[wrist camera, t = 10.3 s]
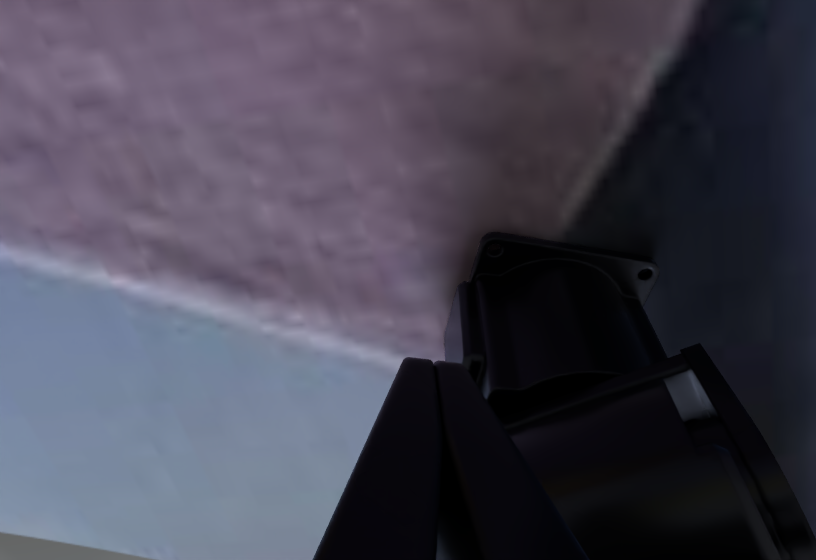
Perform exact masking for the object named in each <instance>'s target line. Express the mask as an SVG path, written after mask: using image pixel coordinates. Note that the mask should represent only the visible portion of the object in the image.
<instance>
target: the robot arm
mask: <svg viewBox="0 0 816 560" xmlns="http://www.w3.org/2000/svg"><path fill="white" fill-rule="evenodd" d="M492 244H498V245H500V247H499V248H498V249H497V250H490V249H488V248H489V246H490V245H492ZM643 269H648V271H647V272H646V273H643V274H638V273H639V272H640V271H641V270H643ZM659 273H660V272H659V268H658V266H657V264H656V263H655V261H654V260H653V259H652V258H649V257H645V256H639V255H633V254H626V253H620V252H614V251H608V250H602V249H596V248H590V247H584V246H578V245H572V244H566V243H560V242H554V241H548V240H542V239H536V238H530V237H524V236H518V235H512V234H506V233H500V232H491V233H488V234H486V235H485V236H484V237H482V239H481V241H480V244H479V247H478V251H477V254H476V257H475V261H474V264H473V268H472V271H471V275H470V278H469V282H467V281H464V282H463V283H461V284H460V285H458V287H457V290H456V294H455V297H454V301H453V305H452V308H451V312H450V315H449V319H448V323H447V326H446V330H445V334H444V342H445V361H436V362H435V363H434V364H433V362H432V361H431V360H429V359H420V358H411V357H407V358H405V359H404V360H403V362H402V364H401V366H400V368H399V370H398V373H397V375H396V377H395V379H394V381H393V384H392V386H391V388H390V390H389V392H388V395H387V397H386V399H385V401H384V403H383V406H382V408H381V410H380V412H379V414H378V417H377V419H376V421H375V423H374V425H373V428H372V430H371V432H370V434H369V436H368V439H367V441H366V443H365V445H364V448H363V450H362V452H361V454H360V456H359V459H358V461H357V463H356V465H355V467H354V470H353V472H352V474H351V476H350V478H349V481H348V483H347V485H346V487H345V489H344V492H343V494H342V496H341V498H340V500H339V503H338V505H337V507H336V509H335V511H334V514H333V516H332V518H331V520H330V522H329V525H328V527H327V529H326V531H325V533H324V536H323V538H322V540H321V542H320V545H319V547H318V549H317V551H316V553H315V556H314V558H313V560H816V539H815V536H814V534H813V532H812V530H811V528H810V526H809V523H808V521H807V519H806V517H805V515H804V513H803V511H802V509H801V507H800V505H799V503H798V501H797V499H796V497H795V495H794V493H793V491H792V489H791V487H790V485H789V483H788V481H787V480H786V478H785V476H784V474H783V472H782V470H781V468H780V466H779V465H778V463H777V461H776V459H775V457H774V455H773V454H772V452H771V450H770V448H769V447H768V445H767V443H766V442H765V440H764V438H763V436H762V435H761V433H760V431H759V430H758V428H757V427H756V425H755V424H754V422H753V420H752V419H751V417H750V416H749V414H748V413H747V412H746V410H745V409H744V407H743V406H742V404H741V403H740V401H739V400H738V398H737V397H736V395H735V394H734V392H733V391H732V390H731V388H730V387H729V385H728V384H727V382H726V381H725V379H724V378H723V376H722V375H721V373H720V372H719V370H718V369H717V367H716V366H715V365H714V363H713V362H712V360H711V359H710V357H709V356H708V354H707V353H706V351H705V350H704V348H703V347H702V345H701V344H700V343H698V344H695V345H693V346H690V347H687V348H684V349H681V350H680V351H681V354H678V355H676V356H673V357H670V358H667V355H666V353H665V351H664V349H663V347H662V345H661V343H660V341H659V339H658V337H657V335H656V333H655V331H654V329H653V327H652V325H651V323H650V321H649V319H648V317H647V315H646V313H645V311H644V308H643V306H644V304H645V302H646V300H647V298H648V296H649V294H650V292H651V290H652V288H653V286H654V284H655V282H656V280H657V278H658V276H659Z"/></svg>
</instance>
